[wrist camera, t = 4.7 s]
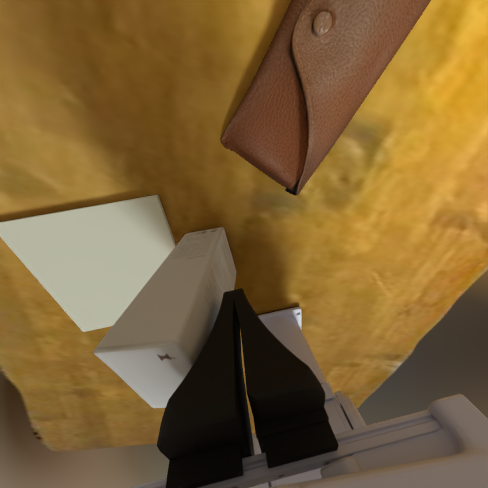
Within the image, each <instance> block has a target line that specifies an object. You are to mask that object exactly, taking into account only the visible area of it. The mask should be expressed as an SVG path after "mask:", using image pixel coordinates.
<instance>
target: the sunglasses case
mask: <svg viewBox="0 0 488 488" xmlns="http://www.w3.org/2000/svg"><path fill="white" fill-rule="evenodd" d="M430 1H431V0H292V1H291V3H290V6H289V8H288V10H287V12H286V14H285V16H284V18H283V20H282V22H281V24H280V26H279V28H278V30H277V32H276V34H275V37H274V39H273V41H272V43H271V45H270V47H269V50H268V51H267V53H266V55H265V57H264V59H263V61H262V63H261V65H260V68H259V70H258V72H257V74H256V76H255V77H254V79H253V81H252V83H251V85H250V87H249V89H248V91H247V93H246V95H245V96H244V98H243V100H242V102H241V103H240V105H239V107H238V109H237V111H236V112H235V114H234V116H233V118H232V120H231V121H230V123H229V125H228V127H227V128H226V130H225V132H224V133H223V136H222V138H221V142H222V144H223V145H224V147H225V148H227V149H230V150H231V151H235V152H236V153H237V154H239V155H240V156H241V157H243V158H244V159H245V160H247V161H248V162H249V163H251V164H252V165H253V166H255V167H256V168H258V169H259V170H260V171H262V172H263V173H265V174H266V175H268V176H269V177H270V178H272V179H273V180H275V181H276V182H277V183H279V184H281V185H282V186H284V187H286V191H287V192H289V193H291V194H293V195H298V194H299V193H300V191H301V190H302V188H303V187H304V185H305V184H306V182H307V181H308V180H309V178H310V177H311V176H312V174H313V173H314V172H315V170H316V169H317V167H318V166H319V165H320V163H321V162H322V161H323V159H324V158H325V156H326V155H327V154H328V152H329V151H330V149H331V148H332V146H333V145H334V144H335V142H336V141H337V139H338V138H339V136H340V135H341V133H342V132H343V131H344V129H345V128H346V126H347V125H348V123H349V122H350V120H351V119H352V117H353V116H354V114H355V113H356V111H357V110H358V108H359V107H360V105H361V104H362V102H363V101H364V100H365V98H366V97H367V95H368V94H369V92H370V91H371V89H372V88H373V86H374V85H375V83H376V82H377V80H378V79H379V77H380V76H381V74H382V73H383V71H384V70H385V69H386V67H387V66H388V64H389V63H390V61H391V60H392V58H393V57H394V55H395V54H396V52H397V51H398V49H399V48H400V46H401V45H402V43H403V42H404V40H405V39H406V37H407V36H408V34H409V33H410V31H411V30H412V28H413V27H414V25H415V24H416V22H417V21H418V19H419V18H420V16H421V15H422V13H423V12H424V10H425V9H426V7H427V6H428V4H429V2H430Z"/></svg>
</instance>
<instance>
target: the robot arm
mask: <svg viewBox="0 0 488 488" xmlns="http://www.w3.org/2000/svg"><path fill="white" fill-rule="evenodd" d="M301 325H302V310H301V308H300V307H295V308H290V309H286V310H281V311H276V312H272V313H267V314H263V315H258V316H257V314H256V313H255V311H254V310H253V308H252V307H251V305H250V303H249V302H248V300H247V298H246V296H245V294H244V291H243V289H237V290H232V291H227V292H224V293H223V298H222V303H221V306H220V309H219V312H218V315H217V318H216V321H215V323H214V326H213V328H212V331H211V333H210V335H209V337H208V339H207V341H206V343H205V345H204V347H203V349H202V351H201V352H200V354H199V356H198V358H197V359H196V361H195V363H194V364H193V366H192V367H191V369H190V370H189V372H188V373H187V375H186V376H185V378H184V379H183V381H182V382H181V384H180V385H179V386H178V388H177V389H176V390H175V392H174V393H173V394H172V396H171V397H170V398H169V400H168V403H167V405H166V408H165V412H164V415H163V418H162V422H161V427H160V432H159V436H158V441H157V447H158V448H159V450H160V451H161V452H162V453H163V454H164V455H165V456H166V457H167V458H168V459H169V460H170V462H169V468H168V475H167V478H166V479H162V480H158V481H154V482H151V483H147V484H143V485H139V486H136V487H131V488H249V487H253V486H256V485H258V486H259V488H488V419H487V418H486V417H485V416H484V415H483V414H482V413H481V412H480V411H479V410H478V409H477V408H476V407H475V406H474V405H473V404H472V403H471V402H470V401H468V399H467V398H465V396H463V395H461V394H458V395H454V396H450V397H446V398H442V399H439V400H436V401H434V402H433V403H431V404H430V406H429V408H428V410H426V411H421V412H418V413H414V414H410V415H406V416H402V417H399V418H395V419H391V420H387V421H383V422H380V423H376V424H372V425H368V426H366V424H365V422H364V421H363V419H362V417H361V415H360V414H359V412H358V410H357V409H356V407H355V405H354V404H353V402H352V400H351V399H350V398H349V397H348V396H347V395H345V394H343V393H342V392H341V391H337V392H335V394H336V397H337V399H338V401H339V403H340V405H339V403H338V401H337V399H336V397H335V395H334V393H333V391H332V389H331V387H330V385H329V383H328V382H326V380H325V378H324V376H323V374H322V372H321V369H320V367H319V365H318V363H317V361H316V359H315V357H314V355H313V353H312V351H311V349H310V347H309V345H308V343H307V341H306V339H305V337H304V335H303V333H302V330H301ZM240 329H241V337H242V346H243V356H244V366H245V376H246V388H247V395H248V398H249V402H250V406H251V409H252V413H253V417H254V424H255V431H256V433H255V436H254V446H253V440H252V433H251V426H250V419H249V412H248V405H247V398H246V390H245V383H244V376H243V368H242V357H241V338H240ZM340 406H341V407H340ZM341 408H342V409H341Z"/></svg>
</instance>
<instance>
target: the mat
mask: <svg viewBox="0 0 488 488" xmlns="http://www.w3.org/2000/svg"><path fill="white" fill-rule="evenodd" d="M0 237H1V238H2V239H3V241H4V242H5V243H6V244H7V245H8V246H9V247H10V249H11V250H12V251H13V252H14V253H15V254H16V255H17V257H18V258H19V259H20V260H21V261H22V262H23V263H24V265H25V266H26V267H27V268H28V269H29V270H30V272H31V273H32V274H33V275H34V276H35V277H36V278H37V280H38V281H39V282H40V283H41V284H42V285H43V286H44V288H45V289H46V290H47V291H48V292H49V293H50V295H51V296H52V297H53V298H54V299H55V300H56V301H57V303H58V304H59V305H60V306H61V307H62V308H63V309H64V311H65V312H66V313H67V314H68V315H69V316H70V317H71V319H72V320H73V321H74V322H75V323H76V324H77V326H78V327H79V328H80V329H81V330H82V331H83V332H86V331H90V330H95V329H100V328H104V327H109V326H113V325H114V324H115V323H116V321H117V320H118V319H119V318H120V316H121V315H122V314H123V312H124V311H125V310H126V308H127V307H128V306H129V305H130V304H131V302H132V301H133V300H134V298H135V297H136V296H137V295H138V293H139V292H140V291H141V290H142V288H143V287H144V286H145V284H146V283H147V282H148V281H149V279H150V278H151V277H152V276H153V274H154V273H155V272H156V271H157V269H158V268H159V267H160V265H161V264H162V263H163V262H164V260H165V259H166V258H167V257H168V255H169V254H170V253H171V251H172V250H173V249H174V248H175V246H176V242H175V239H174V237H173V234H172V231H171V229H170V226H169V223H168V220H167V218H166V215H165V212H164V210H163V207H162V204H161V201H160V199H159V196H158V195H152V196H146V197H140V198H135V199H129V200H123V201H117V202H112V203H106V204H100V205H95V206H89V207H83V208H77V209H72V210H66V211H60V212H54V213H49V214H43V215H37V216H32V217H26V218H20V219H14V220H9V221H3V222H0Z"/></svg>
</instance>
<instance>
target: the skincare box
mask: <svg viewBox="0 0 488 488" xmlns="http://www.w3.org/2000/svg"><path fill="white" fill-rule="evenodd" d="M236 273H237V272H236V269H235V265H234V261H233V258H232V254H231V251H230V247H229V244H228V241H227V237H226V233H225V230H224V227H220V228H214V229H208V230H203V231H197V232H191V233H186V234H185V235H184V236H183V238H182V239H181V240H180V241H179V243H178V244H177V245H176V246H175V248H174V249H173V250H172V251H171V253H170V254H169V255H168V257H167V258H166V259H165V260H164V262H163V263H162V264H161V265H160V267H159V268H158V269H157V271H156V272H155V273H154V274H153V276H152V277H151V278H150V279H149V281H148V282H147V283H146V284H145V286H144V287H143V288H142V290H141V291H140V292H139V293H138V295H137V296H136V297H135V298H134V300H133V301H132V302H131V304H130V305H129V306H128V307H127V308H126V310H125V311H124V312H123V314H122V315H121V316H120V318H119V319H118V320H117V321H116V323H115V324H114V325H113V326H112V327H111V329H110V330H109V331H108V333H107V334H106V335H105V336H104V338H103V339H102V340H101V342H100V343H99V344H98V345H97V347H96V348H95V350H94V354H95V355H96V356H97V357H98V358H100V359H101V360H102V361H103V362H104V363H105V364H106V365H108V366H109V367H110V368H111V369H112V370H113V371H114V372H115V373H117V374H118V375H119V376H120V377H121V378H122V379H123V380H124V381H125V382H126V383H127V384H128V385H129V386H130V387H131V388H132V389H133V390H134V391H135V392H136V393H137V394H138V395H139V396H141V397H142V398H143V399H144V400H145V401H146V402H147V403H148V404H149V405H150V406H151V407H152V408H166V405H167V403H168V400H169V398H170V397H171V396H172V394H173V393H174V392H175V390H176V389H177V388H178V386H179V385H180V384H181V382H182V381H183V379H184V378H185V376H186V375H187V373H188V372H189V370H190V369H191V367H192V366H193V364H194V363H195V361H196V359H197V358H198V356H199V354H200V352H201V351H202V349H203V347H204V345H205V343H206V341H207V339H208V337H209V335H210V333H211V331H212V328H213V326H214V323H215V321H216V318H217V315H218V312H219V309H220V306H221V303H222V298H223V293H224V292H227V291H232V290H234V287H235V280H236Z"/></svg>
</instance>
